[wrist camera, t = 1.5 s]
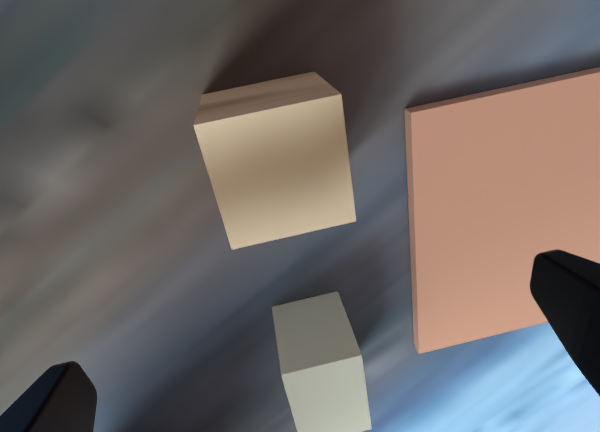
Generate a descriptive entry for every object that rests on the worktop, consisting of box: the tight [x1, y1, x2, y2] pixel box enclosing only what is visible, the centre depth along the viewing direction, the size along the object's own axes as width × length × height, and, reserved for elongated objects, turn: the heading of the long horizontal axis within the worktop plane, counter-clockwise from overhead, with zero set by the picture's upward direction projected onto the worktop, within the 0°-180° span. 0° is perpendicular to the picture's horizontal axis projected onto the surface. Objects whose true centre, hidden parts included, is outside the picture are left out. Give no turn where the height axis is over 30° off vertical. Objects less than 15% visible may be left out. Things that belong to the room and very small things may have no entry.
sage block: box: [272, 291, 372, 432], centre depth 23 cm, size 6×4×5 cm, turn 10°
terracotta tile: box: [404, 67, 600, 354], centre depth 23 cm, size 16×13×1 cm
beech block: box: [194, 71, 356, 250], centre depth 17 cm, size 5×5×5 cm
